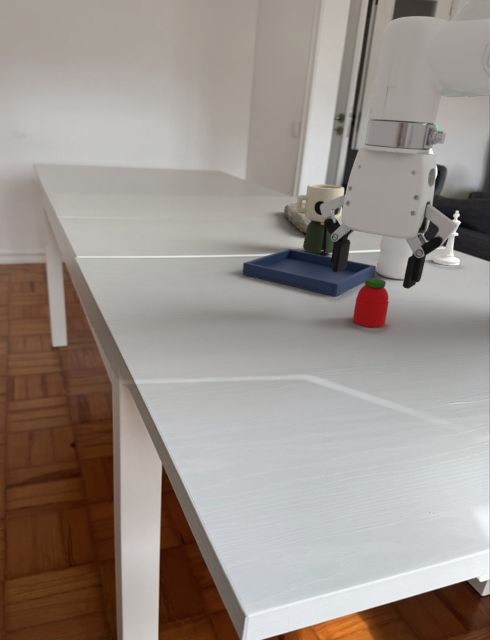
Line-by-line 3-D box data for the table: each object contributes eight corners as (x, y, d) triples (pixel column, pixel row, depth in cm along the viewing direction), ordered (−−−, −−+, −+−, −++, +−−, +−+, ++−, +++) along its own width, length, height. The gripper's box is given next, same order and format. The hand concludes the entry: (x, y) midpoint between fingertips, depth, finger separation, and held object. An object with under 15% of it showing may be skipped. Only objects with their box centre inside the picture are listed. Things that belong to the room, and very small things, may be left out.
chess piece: (428, 261, 108) (438, 210, 104) (440, 258, 111) (450, 208, 107) (452, 267, 105) (464, 214, 101) (463, 263, 108) (475, 211, 104)
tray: (374, 277, 96) (376, 266, 95) (335, 296, 84) (337, 284, 84) (287, 258, 105) (288, 248, 104) (242, 274, 94) (243, 262, 93)
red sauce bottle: (389, 321, 75) (396, 280, 73) (377, 330, 72) (385, 287, 69) (360, 314, 77) (366, 274, 75) (347, 322, 74) (354, 280, 72)
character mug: (297, 256, 107) (304, 188, 102) (287, 248, 113) (293, 183, 108) (350, 257, 109) (359, 189, 104) (337, 248, 115) (345, 184, 110)
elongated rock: (312, 218, 156) (277, 218, 156) (312, 198, 154) (277, 199, 154) (345, 237, 123) (301, 238, 123) (346, 213, 121) (302, 214, 121)
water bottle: (393, 282, 93) (422, 123, 83) (367, 271, 99) (391, 121, 89) (425, 278, 96) (457, 125, 86) (397, 268, 102) (424, 123, 92)
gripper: (482, 144, 63) (448, 287, 70) (344, 133, 73) (325, 260, 79) (466, 145, 58) (430, 299, 65) (318, 133, 67) (300, 269, 74)
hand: (372, 277), depth 72 cm, fingers open, 9 cm apart
